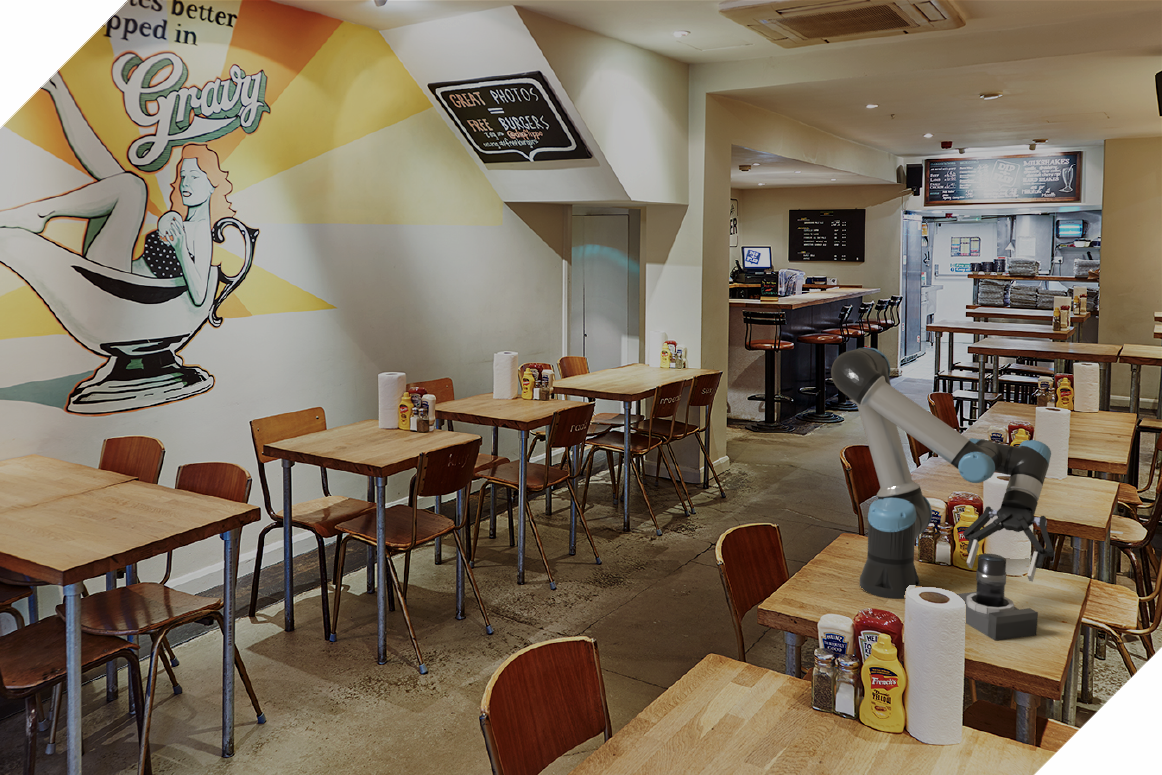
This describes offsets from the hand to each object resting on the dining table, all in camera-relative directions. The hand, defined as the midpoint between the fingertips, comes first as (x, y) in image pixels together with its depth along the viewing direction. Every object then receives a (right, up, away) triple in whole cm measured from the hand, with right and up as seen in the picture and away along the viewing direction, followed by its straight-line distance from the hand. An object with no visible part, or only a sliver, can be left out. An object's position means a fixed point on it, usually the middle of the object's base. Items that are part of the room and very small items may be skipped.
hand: (998, 572), depth 203 cm
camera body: (-2, -12, +1) cm, 13 cm away
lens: (-2, -8, +1) cm, 9 cm away
